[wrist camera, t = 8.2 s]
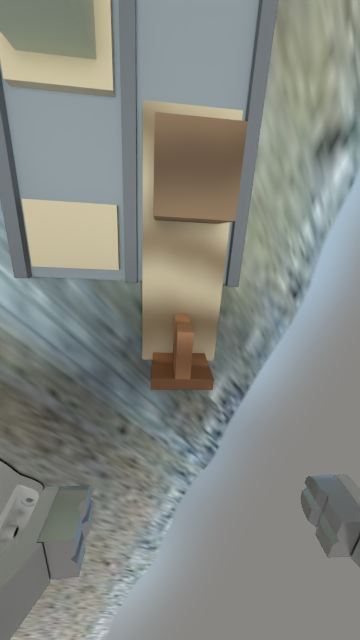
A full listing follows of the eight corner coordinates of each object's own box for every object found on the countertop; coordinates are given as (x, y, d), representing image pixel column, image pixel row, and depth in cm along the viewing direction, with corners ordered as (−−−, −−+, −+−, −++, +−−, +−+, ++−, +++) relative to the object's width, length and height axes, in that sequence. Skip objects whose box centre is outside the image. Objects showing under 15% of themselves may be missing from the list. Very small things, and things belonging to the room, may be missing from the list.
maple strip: (212, 358, 24) (224, 389, 20) (142, 357, 24) (138, 389, 19) (239, 115, 18) (269, 70, 13) (143, 105, 17) (136, 54, 12)
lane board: (232, 282, 23) (238, 286, 21) (26, 274, 21) (14, 277, 20) (276, -51, 16) (290, -85, 14) (-35, -102, 14) (-62, -148, 12)
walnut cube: (217, 224, 19) (235, 221, 15) (155, 220, 19) (153, 215, 14) (224, 151, 18) (247, 121, 13) (156, 144, 17) (154, 111, 12)
